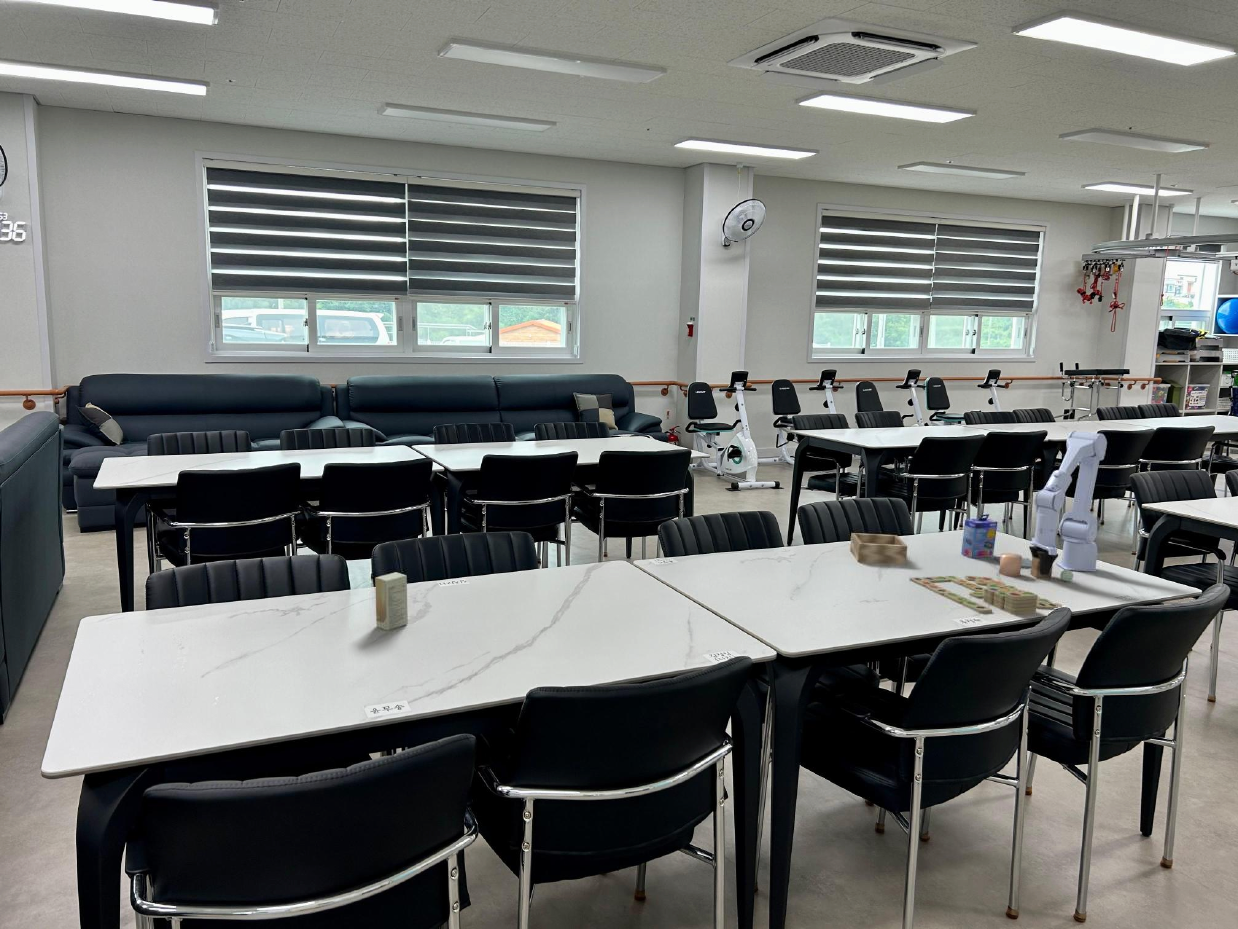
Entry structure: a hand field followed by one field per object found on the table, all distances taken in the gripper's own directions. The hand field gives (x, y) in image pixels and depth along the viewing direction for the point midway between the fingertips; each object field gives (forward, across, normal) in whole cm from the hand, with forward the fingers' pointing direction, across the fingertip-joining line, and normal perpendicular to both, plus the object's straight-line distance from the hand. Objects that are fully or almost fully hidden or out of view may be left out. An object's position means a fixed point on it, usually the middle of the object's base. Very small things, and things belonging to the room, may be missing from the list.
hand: (1041, 572), depth 271 cm
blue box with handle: (+2, -23, -12) cm, 26 cm away
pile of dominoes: (+2, +23, -24) cm, 33 cm away
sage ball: (+1, +4, +6) cm, 7 cm away
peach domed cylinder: (+2, -1, -9) cm, 9 cm away
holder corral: (+1, -13, -47) cm, 49 cm away
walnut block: (+2, 0, 0) cm, 2 cm away
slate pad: (+1, -15, -2) cm, 15 cm away
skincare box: (+2, +79, -178) cm, 195 cm away
